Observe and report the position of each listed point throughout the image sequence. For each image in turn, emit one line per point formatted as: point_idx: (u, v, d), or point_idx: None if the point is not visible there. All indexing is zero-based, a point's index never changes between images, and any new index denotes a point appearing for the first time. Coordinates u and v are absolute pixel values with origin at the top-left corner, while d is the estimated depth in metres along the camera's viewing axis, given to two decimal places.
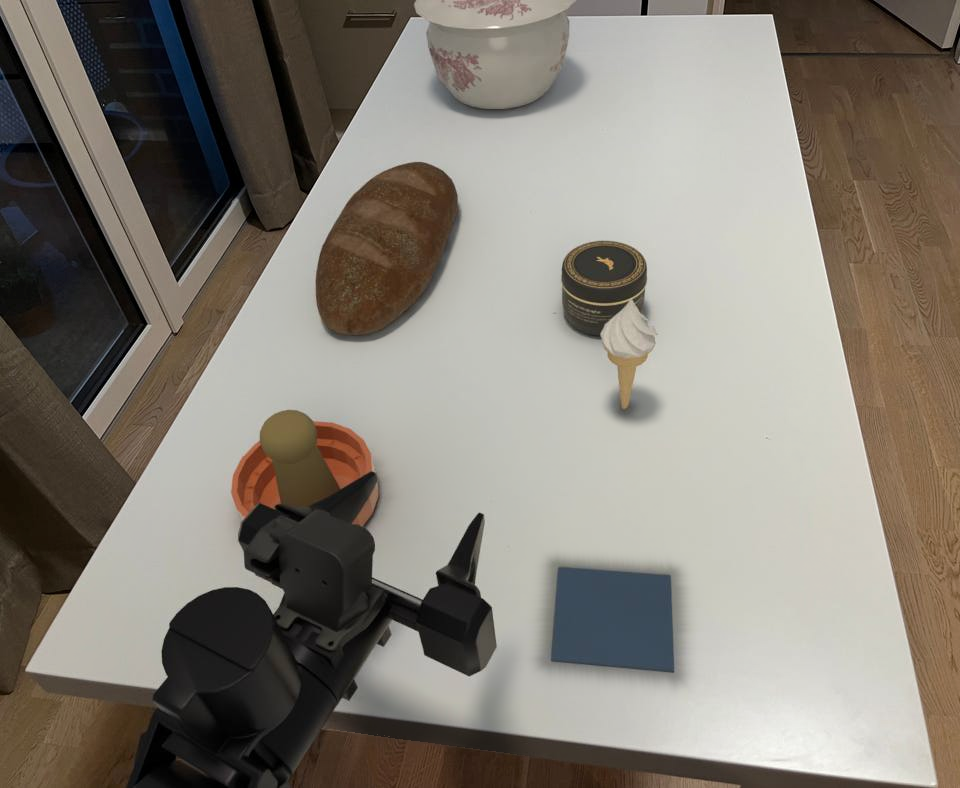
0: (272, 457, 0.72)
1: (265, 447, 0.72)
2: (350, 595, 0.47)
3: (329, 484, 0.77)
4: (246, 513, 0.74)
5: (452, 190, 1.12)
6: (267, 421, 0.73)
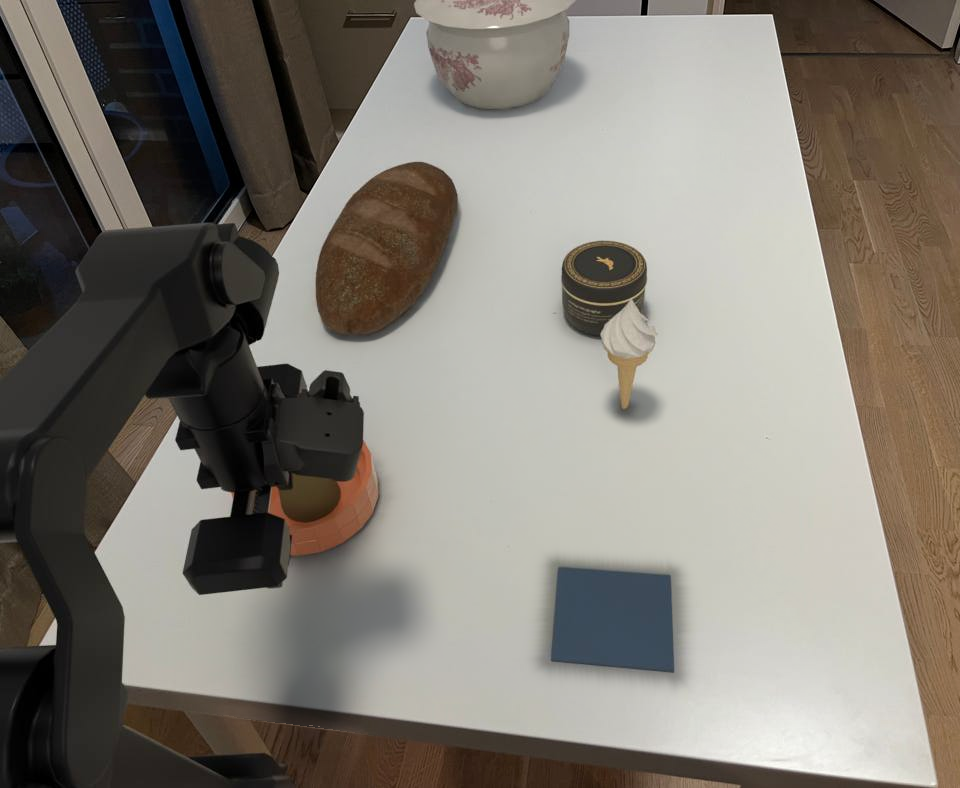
0: None
1: None
2: (313, 456, 0.53)
3: (329, 484, 0.77)
4: None
5: (452, 190, 1.12)
6: None
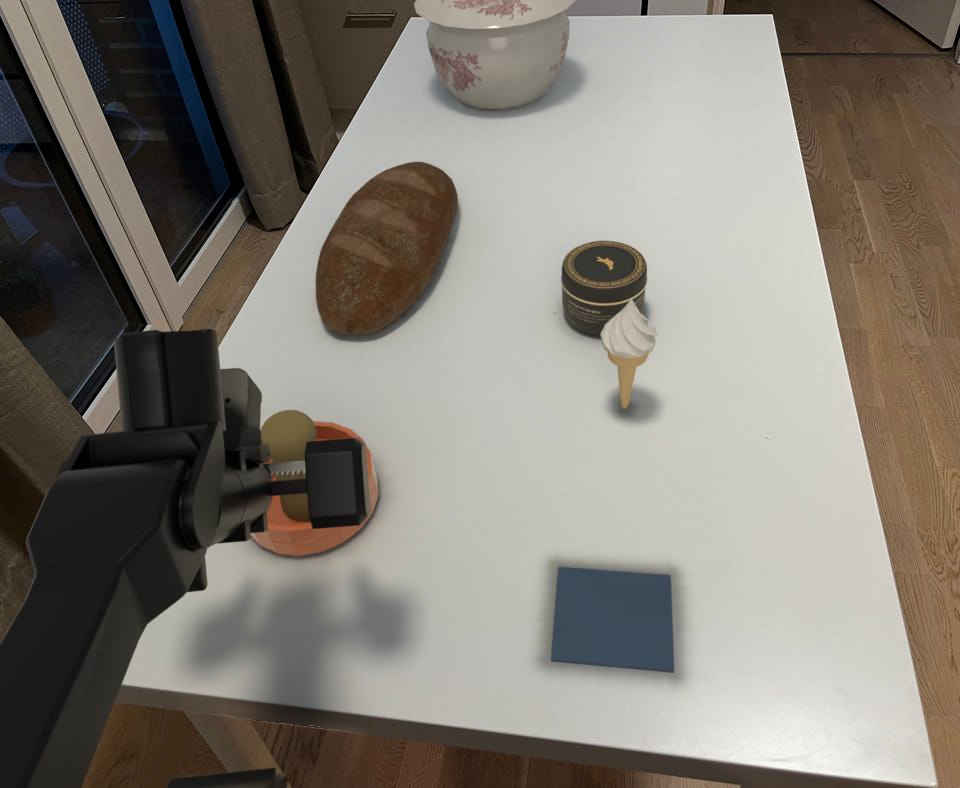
0: (272, 457, 0.72)
1: None
2: (251, 412, 0.54)
3: None
4: None
5: (452, 190, 1.12)
6: (267, 421, 0.73)
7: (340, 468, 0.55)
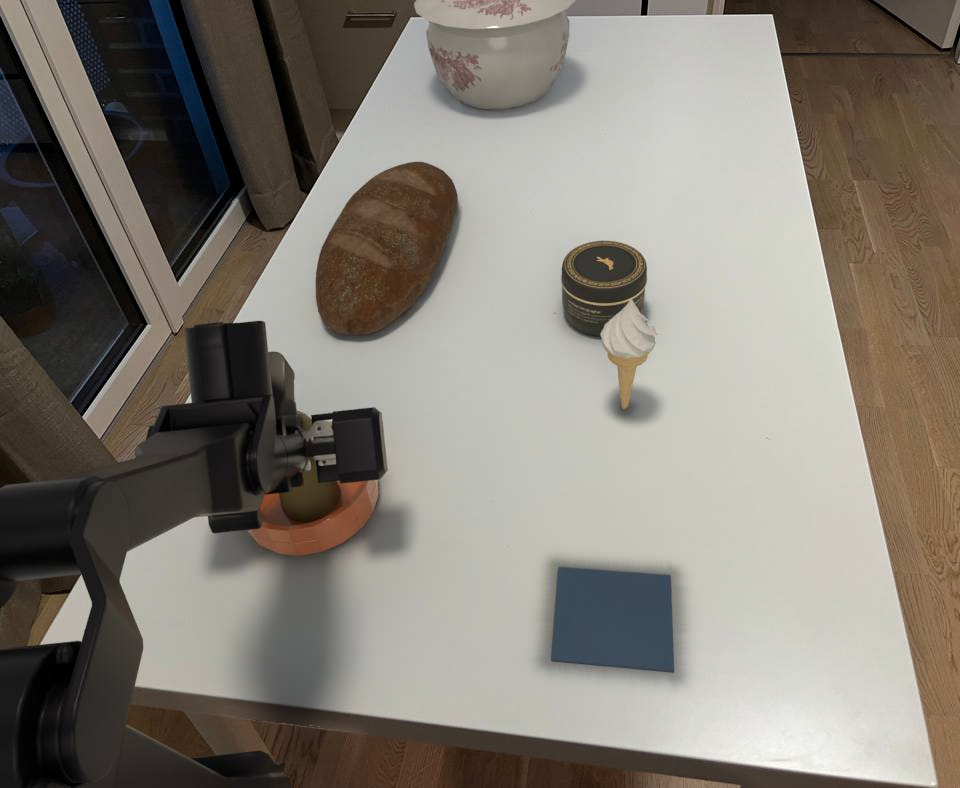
0: None
1: None
2: (287, 388, 0.65)
3: (329, 484, 0.77)
4: None
5: (452, 190, 1.12)
6: None
7: (362, 432, 0.67)
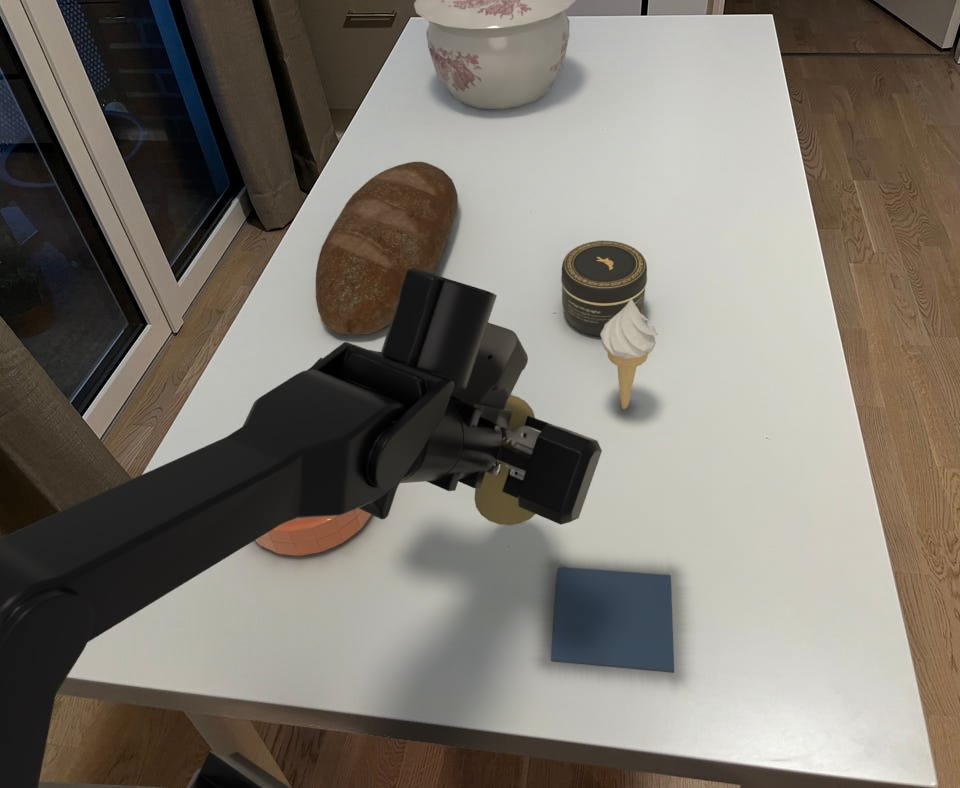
0: None
1: None
2: (505, 376, 0.54)
3: None
4: None
5: (452, 190, 1.12)
6: None
7: (564, 463, 0.54)
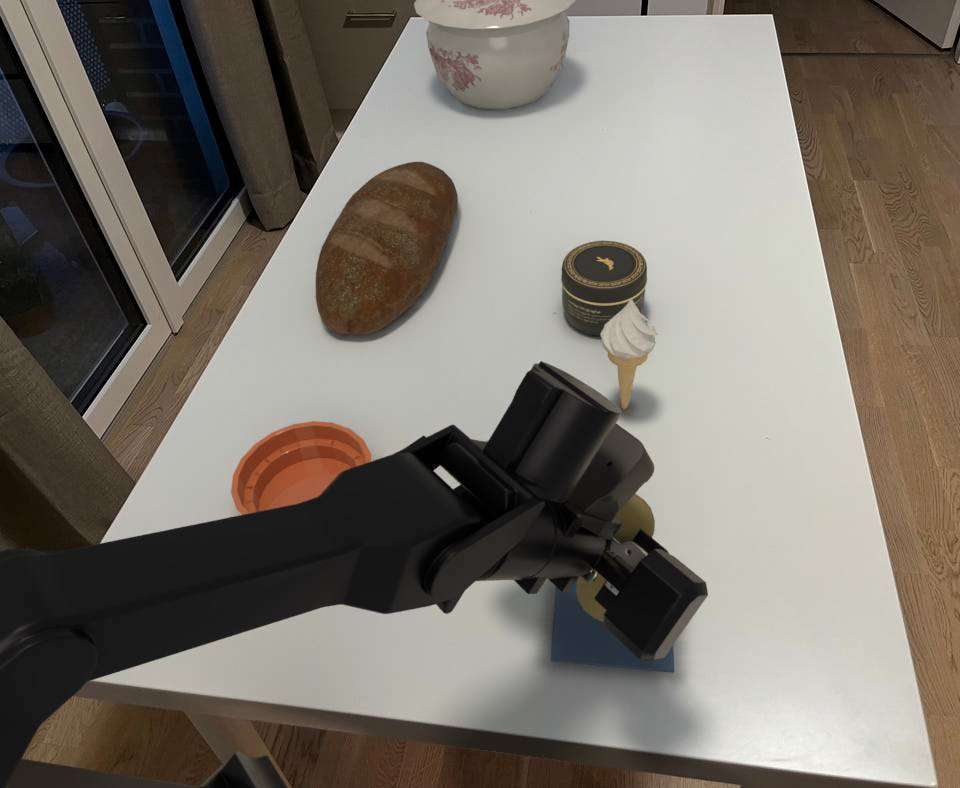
0: None
1: None
2: (620, 489, 0.50)
3: None
4: (246, 513, 0.74)
5: (452, 190, 1.12)
6: None
7: (659, 599, 0.49)
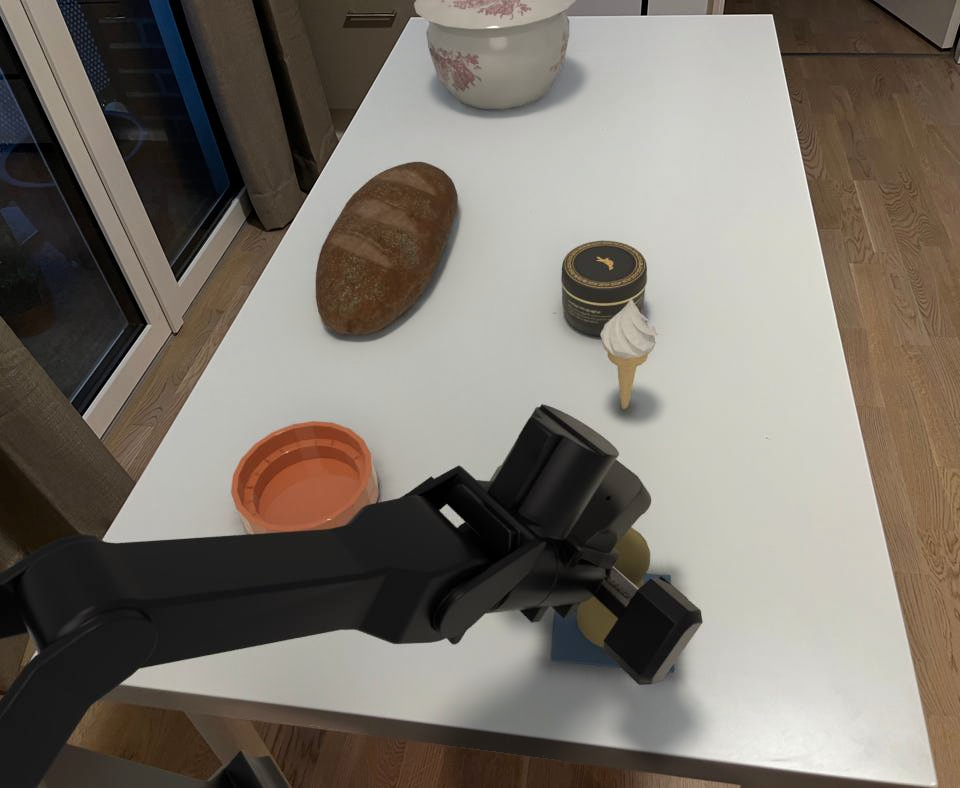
0: None
1: None
2: (618, 522, 0.53)
3: None
4: (246, 513, 0.74)
5: (452, 190, 1.12)
6: None
7: (656, 627, 0.51)
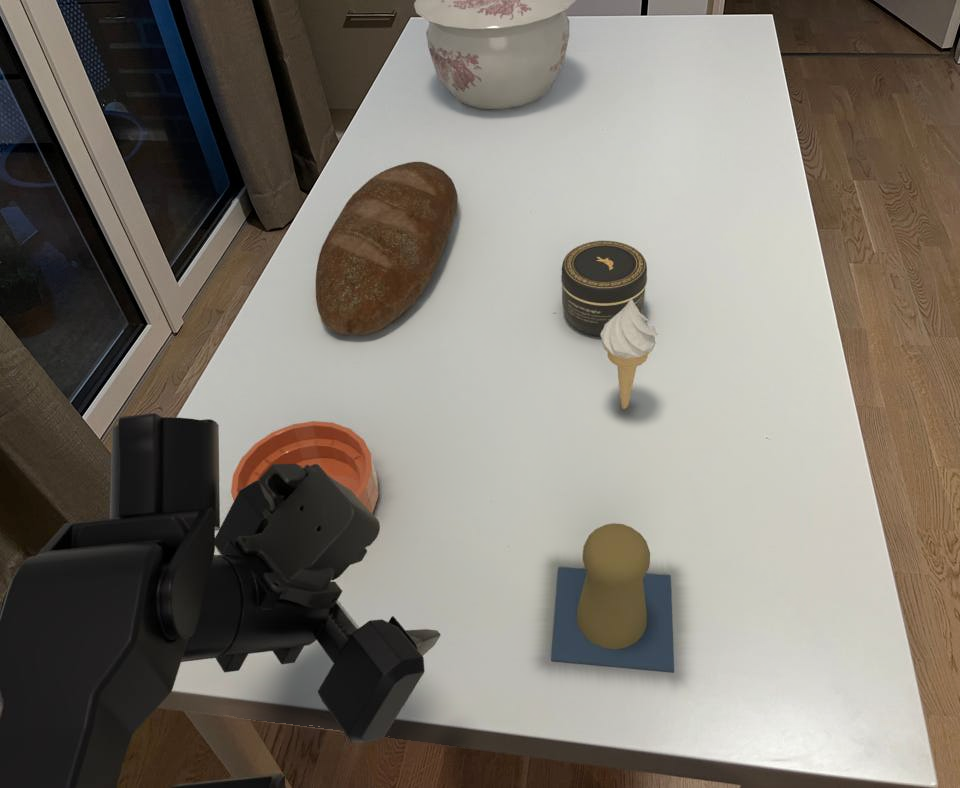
0: (584, 563, 0.62)
1: (584, 550, 0.62)
2: (328, 556, 0.46)
3: (627, 626, 0.64)
4: None
5: (452, 190, 1.12)
6: (607, 527, 0.62)
7: (365, 679, 0.45)
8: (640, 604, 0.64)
